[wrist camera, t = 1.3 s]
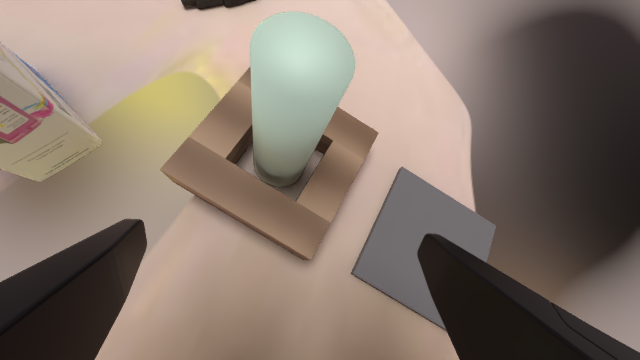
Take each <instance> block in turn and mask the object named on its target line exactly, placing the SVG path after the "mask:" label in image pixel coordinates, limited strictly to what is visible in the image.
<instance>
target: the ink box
mask: <svg viewBox="0 0 640 360" xmlns="http://www.w3.org/2000/svg"><path fill="white" fill-rule="evenodd" d="M101 144H102V140H101V139H100V138H99V137H98V136H97V135H96V134H95V132H94V131H93V130H92V129H91V128H90V127H89V126H88V125H87V124H86V123H85V122H84V121H83V120H82V119H81V118H80V117H79V116H78V115H77V114H76V113H75V112H74V110H73V109H72V108H71V107H70V106H69V105H68V104H67V103H66V102H65V101H64V100H63V99H62V98H61V97H60V96H59V95H58V94H57V93H56V92H55V91H54V90H53V88H52V87H51V86H50V85H49V84H48V83H47V82H46V81H45V80H44V79H43V78H42V77H41V76H40V75H39V74H38V73H37V72H36V71H35V70H34V69H33V68H32V67H30V66H29V65H28V64H27V63H25V62H24V61H23V60H22V59H20V58H19V57H18V56H17V55H15V54H14V53H13V52H12V51H11V50H9V49H8V48H7V47H6V46H4V45H3V44H2V43H1V42H0V169H1V170H4V171H7V172H10V173H13V174H16V175H19V176H22V177H25V178H28V179H31V180H34V181H38V182H42V181H44V180H46V179H47V178H49V177H51V176H53V175H54V174H56V173H58V172H59V171H61V170H63V169H64V168H66V167H67V166H69V165H71V164H72V163H74V162H76V161H77V160H79V159H80V158H82V157H84V156H85V155H87V154H89V153H90V152H92V151H93V150H95V149H97V148H98V147H100V146H101Z"/></svg>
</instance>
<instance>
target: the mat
mask: <svg viewBox="0 0 640 360" xmlns="http://www.w3.org/2000/svg"><path fill="white" fill-rule="evenodd" d="M495 228H496V226H495V225H494V224H492V223H491V222H489V221H488V220H486V219H485V218H483V217H481V216H480V215H478V214H476V213H475V212H473V211H472V210H470V209H469V208H467V207H465V206H464V205H462V204H461V203H459V202H457V201H456V200H454V199H453V198H451V197H450V196H448V195H446V194H445V193H443V192H442V191H440V190H438V189H437V188H435V187H434V186H432V185H430V184H429V183H427V182H426V181H424V180H423V179H421V178H419V177H418V176H416V175H415V174H413V173H411V172H410V171H408V170H407V169H405V168H403V167H401V168H400V169H399V171H398V173H397V175H396V177H395V180H394V182H393V184H392V186H391V188H390V190H389V193H388V195H387V197H386V199H385V201H384V203H383V206H382V208H381V210H380V212H379V214H378V216H377V219H376V221H375V223H374V225H373V227H372V229H371V231H370V234H369V236H368V238H367V240H366V242H365V244H364V247H363V249H362V251H361V253H360V255H359V257H358V260H357V262H356V264H355V266H354V268H353V270H352V272H351V274H353V275H355V276H356V277H358V278H360V279H361V280H363V281H365V282H366V283H368V284H370V285H371V286H373V287H375V288H376V289H378V290H380V291H381V292H383V293H385V294H386V295H388V296H390V297H391V298H393V299H395V300H396V301H398V302H400V303H401V304H403V305H405V306H407V307H408V308H410V309H412V310H413V311H415V312H417V313H418V314H420V315H422V316H423V317H425V318H427V319H428V320H430V321H432V322H433V323H435V324H437V325H438V326H440V327H442V328H443V329H445V330H446V328H445V326H444V324H443V322H442V320H441V317H440V315H439V313H438V311H437V308H436V306H435V304H434V302H433V299H432V297H431V294H430V292H429V289H428V286H427V283H426V280H425V277H424V274H423V271H422V268H421V266H420V263H419V260H418V256H417V251H418V248H419V246H420V244H421V242H422V240H423V237H424V236H425V234H427V233H436V234H439V235H441V236H443V237H444V238H446V239H448V240H449V241H451V242H453V243H454V244H456V245H458V246H459V247H461V248H463V249H464V250H466V251H468V252H469V253H471V254H473V255H474V256H476V257H478V258H479V259H481V260H483V261H484V262H486V261H487V258H488V254H489V251H490V247H491V243H492V239H493V236H494V232H495Z"/></svg>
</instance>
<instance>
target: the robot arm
mask: <svg viewBox="0 0 640 360" xmlns="http://www.w3.org/2000/svg"><path fill="white" fill-rule="evenodd" d="M146 247H147V239H146V234H145V227H144V223H143V221H142V220H140V219H124V220H122V221H120V222H118V223H116V224H114V225H112V226H110V227H108V228H106V229H104V230H102V231H100V232H98V233H96V234H94V235H92V236H90V237H88V238H86V239H84V240H82V241H81V242H78V243H76V244H74V245H72V246H70V247H69V248H67V249H65V250H63V251H61V252H59V253H57V254H55V255H53V256H51V257H49V258H47V259H45V260H43V261H41V262H39V263H37V264H35V265H33V266H31V267H29V268H27V269H25V270H23V271H21V272H19V273H17V274H15V275H14V276H11V277H9V278H7V279H6V280H4V281H2V282H0V360H95V358H96V356H97V354H98V352H99V350H100V348H101V346H102V345H103V343H104V341H105V339H106V337H107V335H108V333H109V331H110V330H111V328H112V326H113V324H114V322H115V320H116V318H117V316H118V314H119V313H120V311H121V309H122V307H123V305H124V303H125V301H126V298H127V296H128V294H129V291H130V289H131V286H132V284H133V281H134V279H135V276H136V274H137V271H138V269H139V266H140V263H141V261H142V258H143V256H144V253H145V251H146ZM417 256H418V260H419V263H420V266H421V268H422V271H423V274H424V277H425V280H426V283H427V286H428V289H429V292H430V294H431V297H432V299H433V302H434V304H435V306H436V308H437V311H438V313H439V315H440V317H441V320H442V322H443V324H444V326H445V328H446V331H447V333H448V335H449V337H450V339H451V342H452V344H453V346H454V348H455V350H456V353H457V355H458V357H459V359H460V360H640V353H639V352H637V351H636V350H634V349H632V348H630V347H628V346H626V345H625V344H623V343H621V342H619V341H618V340H616V339H614V338H612V337H610V336H609V335H607V334H605V333H603V332H602V331H600V330H598V329H596V328H594V327H593V326H591V325H589V324H587V323H586V322H584V321H582V320H581V319H579V318H577V317H576V316H574V315H572V314H571V313H569V312H567V311H566V310H564V309H562V308H561V307H559V306H557V305H556V304H554V303H552V302H550V301H549V300H547V299H546V298H544V297H542V296H541V295H539V294H537V293H536V292H534V291H532V290H531V289H529V288H527V287H526V286H524V285H522V284H521V283H519V282H517V281H516V280H514V279H512V278H511V277H509V276H507V275H506V274H504V273H502V272H501V271H499V270H497V269H496V268H494V267H492V266H491V265H489V264H487V263H486V262H484V261H483V260H481V259H479V258H478V257H476V256H474V255H473V254H471V253H469V252H468V251H466V250H464V249H463V248H461V247H459V246H458V245H456V244H454V243H453V242H451V241H449V240H448V239H446V238H444V237H443V236H441V235H439V234H436V233H427V234H425V236H424V237H423V240H422V242H421V244H420V246H419V248H418V251H417Z"/></svg>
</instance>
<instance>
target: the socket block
mask: <svg viewBox="0 0 640 360" xmlns="http://www.w3.org/2000/svg"><path fill="white" fill-rule="evenodd" d="M377 135H378V132H377V131H375V130H373V129H372V128H370V127H369V126H367V125H365V124H364V123H362V122H361V121H359V120H358V119H356V118H354V117H353V116H351V115H350V114H348V113H347V112H345V111H343V110H342V109H340V108H339V107H337V108H336V110H335V112H334V114H333V116H332V118H331V120H330V121H329V123H328V125H327V127H326V129H325V131H324V133H323V135H322V137H321V138H320V140H319V142H318V144H317V146H316V148H315V149H317V150H318V151H320V152H322V153H323V154H324V156H323V157H322V159H321V161H320V162H319V164H318V166H317V167H316V169H315V171H314V172H313V174H312V176H311V177H310V179H309V180H308V182H307V184H306V185H305V187H304V189H303V190H302V192H301V194H300V195H299V197H298V198H297V200H296V201H294V200H293V199H291V198H289V197H288V196H286V195H284V194H283V193H281V192H279V191H278V190H276V189H274V188H273V187H271V186H270V185H268V184H266V183H265V182H263V181H261V180H260V179H258V178H256V177H255V176H253V175H251V174H250V173H248V172H246V171H245V170H243V169H242V168H240V167H238V166H237V165H235V163H236V162H237V161H238V159H239V158H240V157H241V155H242V154H243V153H244V151H245V150H246V149H247V147H248V146H249V145H250V144H251V142H252V141H253V129H252V98H251V67H250V68H249V69H248V70H247V71H246V72H245V73H244V75H243V76H242V77H241V78H240V79H239V80H238V81H237V83H236V84H235V85H234V86H233V87H232V88H231V89H230V90H229V92H228V93H227V94H226V95H225V96H224V97H223V98H222V100H221V101H220V102H219V103H218V104H217V105H216V106H215V108H214V109H213V110H212V111H211V112H210V113H209V114H208V116H207V117H206V118H205V119H204V120H203V121H202V122H201V123H200V125H199V126H198V127H197V128H196V129H195V130H194V131H193V132H192V134H191V135H190V136H189V137H188V138H187V139H186V140H185V142H184V143H183V144H182V145H181V146H180V147H179V148H178V150H177V151H176V152H175V153H174V154H173V155H172V156H171V157H170V159H169V160H168V161H167V162H166V163H165V164H164V165H163V167H162V168H161V169H160V170H161V171H162V172H163V173H164V174H165V175H167V176H168V177H169V178H170V179H171V180H172V181H173V182H174V183H176V184H178V185H179V186H181V187H183V188H184V189H186V190H188V191H190V192H191V193H193V194H194V195H196V196H198V197H200V198H201V199H203V200H205V201H206V202H208V203H210V204H211V205H213V206H215V207H216V208H218V209H220V210H221V211H223V212H225V213H226V214H228V215H230V216H231V217H233V218H235V219H236V220H238V221H240V222H241V223H243V224H245V225H246V226H248V227H250V228H251V229H253V230H255V231H257V232H258V233H260V234H262V235H263V236H265V237H267V238H268V239H270V240H272V241H273V242H275V243H277V244H278V245H280V246H282V247H283V248H285V249H287V250H288V251H290V252H292V253H293V254H295V255H297V256H298V257H300V258H302V259H303V260H311V259H312V257H313V255H314V253H315V251H316V250H317V248H318V246H319V244H320V242H321V240H322V238H323V236H324V235H325V233H326V231H327V229H328V227H329V225H330V223H331V221H332V220H333V218H334V216H335V214H336V212H337V210H338V208H339V206H340V205H341V203H342V201H343V199H344V197H345V195H346V193H347V191H348V190H349V188H350V186H351V184H352V182H353V180H354V178H355V176H356V174H357V173H358V171H359V169H360V167H361V165H362V163H363V161H364V159H365V158H366V156H367V154H368V152H369V150H370V148H371V146H372V144H373V143H374V141H375V139H376V137H377Z"/></svg>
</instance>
